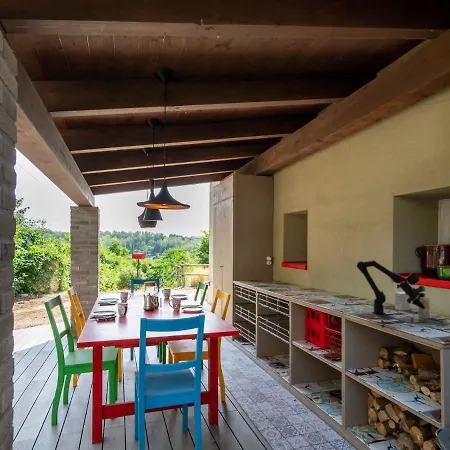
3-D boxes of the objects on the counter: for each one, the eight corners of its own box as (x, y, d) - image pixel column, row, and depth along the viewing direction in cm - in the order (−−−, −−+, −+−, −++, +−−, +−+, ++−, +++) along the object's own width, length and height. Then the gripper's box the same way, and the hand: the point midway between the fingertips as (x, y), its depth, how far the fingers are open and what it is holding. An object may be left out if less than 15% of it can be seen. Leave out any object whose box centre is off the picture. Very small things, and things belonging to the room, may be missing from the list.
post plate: (394, 318, 237) (394, 312, 237) (412, 317, 241) (411, 311, 241) (410, 323, 224) (410, 316, 224) (429, 322, 227) (429, 315, 228)
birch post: (418, 317, 240) (418, 298, 241) (421, 316, 243) (421, 297, 244) (426, 318, 236) (426, 299, 237) (429, 317, 240) (429, 298, 240)
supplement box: (403, 308, 272) (403, 291, 273) (410, 310, 265) (410, 293, 265) (394, 309, 271) (394, 292, 271) (401, 310, 263) (401, 293, 264)
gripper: (411, 283, 238) (430, 302, 229) (422, 280, 250) (440, 298, 241) (399, 293, 243) (417, 312, 234) (410, 291, 256) (427, 309, 247)
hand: (426, 308), depth 239 cm, fingers closed on birch post, 5 cm apart
